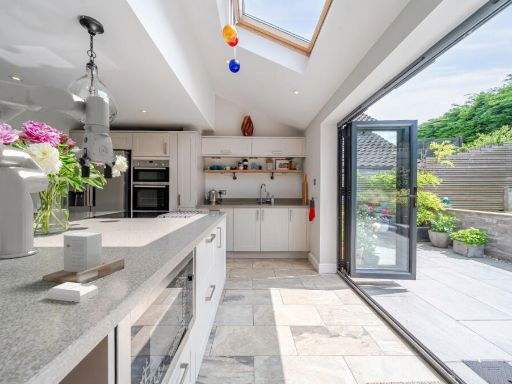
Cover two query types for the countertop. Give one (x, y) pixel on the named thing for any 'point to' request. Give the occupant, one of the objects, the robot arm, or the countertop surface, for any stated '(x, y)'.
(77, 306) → the countertop surface
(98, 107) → the robot arm
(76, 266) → the small box
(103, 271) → the shelf board
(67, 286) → the soap bar
